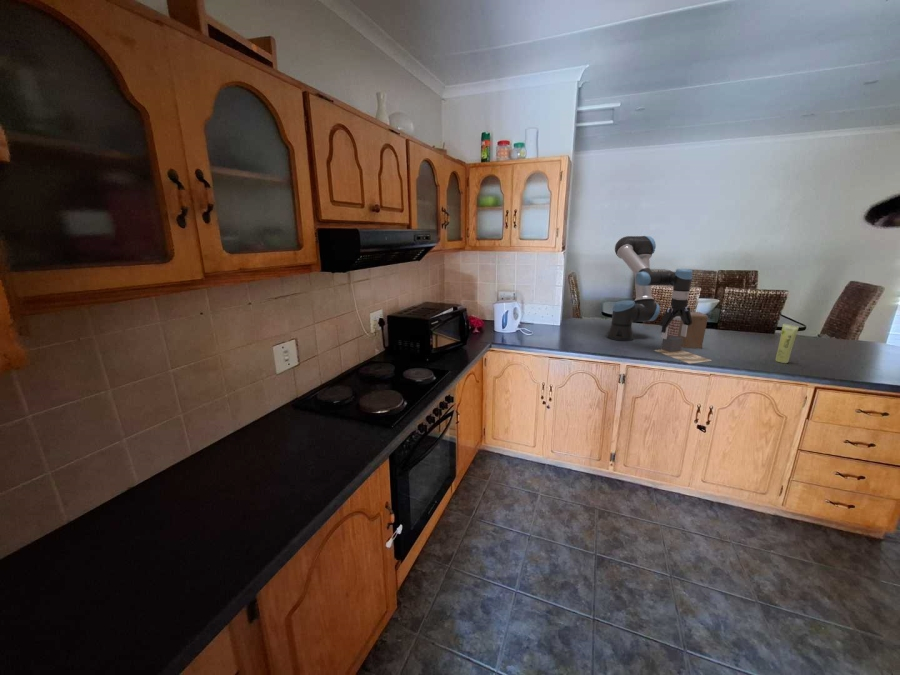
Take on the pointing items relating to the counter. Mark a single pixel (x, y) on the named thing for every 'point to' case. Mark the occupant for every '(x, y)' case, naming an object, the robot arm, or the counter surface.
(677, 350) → the block
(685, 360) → the board
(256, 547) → the counter surface
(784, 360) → the tube
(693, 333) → the wooden block
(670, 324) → the planter
